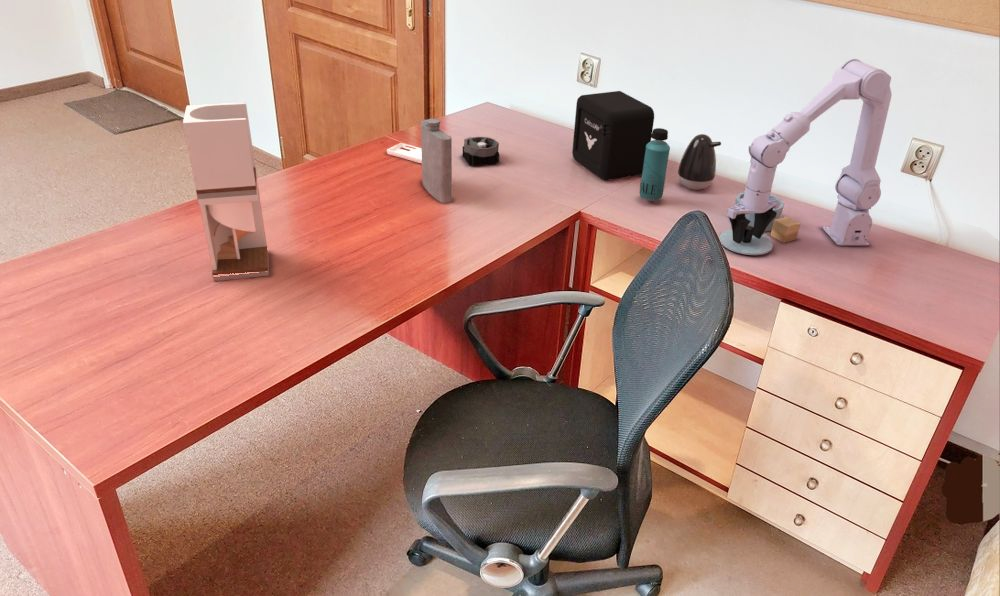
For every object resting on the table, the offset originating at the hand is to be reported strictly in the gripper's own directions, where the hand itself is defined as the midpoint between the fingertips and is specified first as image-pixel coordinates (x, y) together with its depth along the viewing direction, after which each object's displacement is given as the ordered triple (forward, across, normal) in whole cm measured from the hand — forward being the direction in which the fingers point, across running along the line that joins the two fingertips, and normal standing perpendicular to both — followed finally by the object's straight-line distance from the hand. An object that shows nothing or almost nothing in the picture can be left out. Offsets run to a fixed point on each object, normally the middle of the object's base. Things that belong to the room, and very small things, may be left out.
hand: (746, 239), depth 184 cm
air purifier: (+2, +4, -54) cm, 55 cm away
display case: (+2, +112, -38) cm, 119 cm away
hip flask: (+2, +57, -58) cm, 82 cm away
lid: (+1, 0, 0) cm, 1 cm away
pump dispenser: (+2, -12, -33) cm, 35 cm away
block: (+2, -12, +1) cm, 12 cm away
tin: (+2, -12, -9) cm, 15 cm away
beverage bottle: (+2, +6, -30) cm, 31 cm away
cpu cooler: (+2, +36, -74) cm, 82 cm away
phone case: (+2, +53, -85) cm, 100 cm away
